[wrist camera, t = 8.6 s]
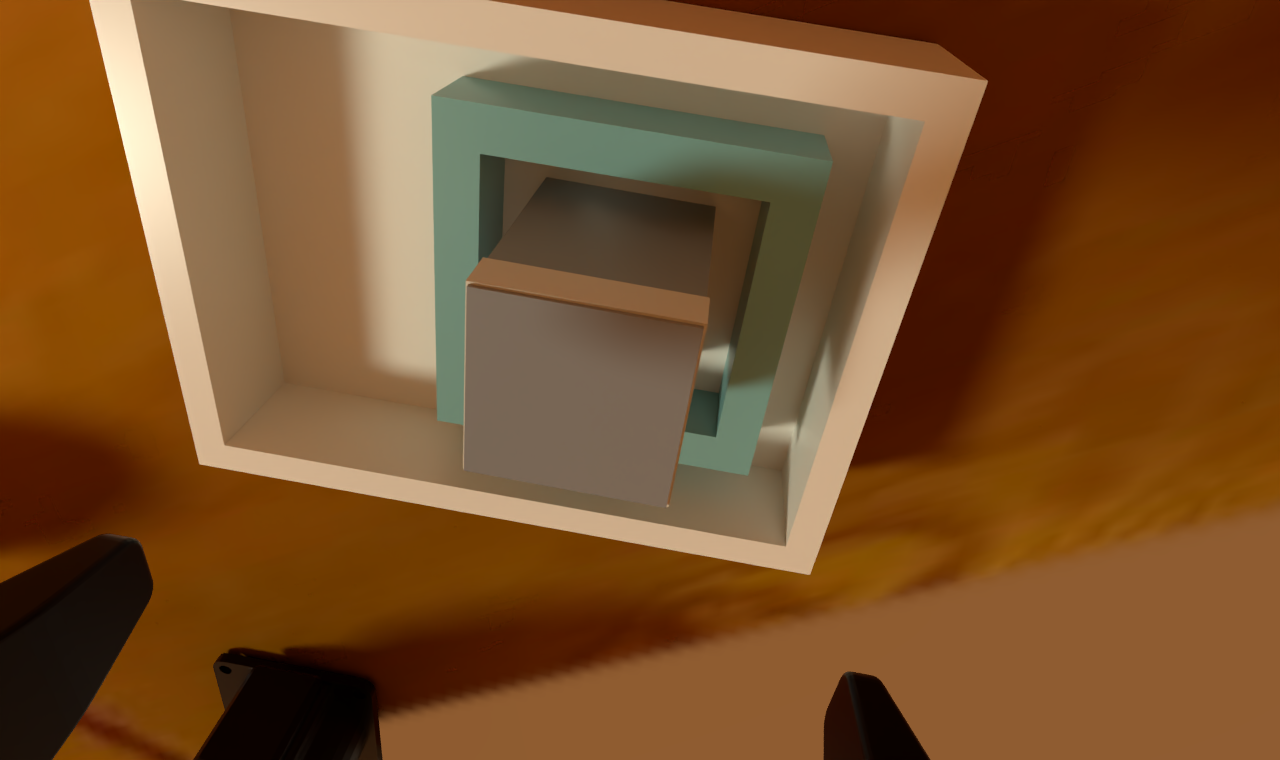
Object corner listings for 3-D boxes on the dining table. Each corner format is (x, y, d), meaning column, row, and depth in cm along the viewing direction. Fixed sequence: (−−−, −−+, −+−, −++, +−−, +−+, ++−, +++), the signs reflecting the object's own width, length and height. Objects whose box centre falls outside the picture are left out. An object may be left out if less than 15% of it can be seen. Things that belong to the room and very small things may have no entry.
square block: (688, 355, 20) (668, 510, 15) (533, 327, 20) (461, 472, 15) (718, 205, 18) (707, 327, 13) (544, 174, 18) (463, 282, 13)
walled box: (800, 475, 23) (809, 574, 19) (279, 382, 23) (199, 463, 20) (937, 43, 16) (987, 81, 13) (209, -73, 17) (73, -67, 13)
